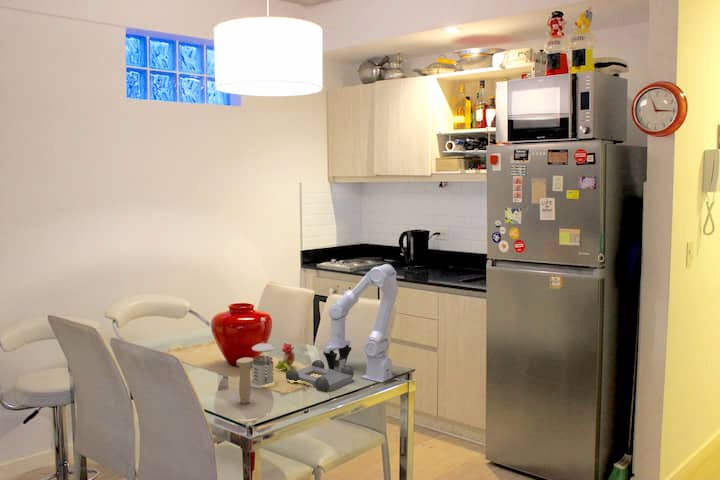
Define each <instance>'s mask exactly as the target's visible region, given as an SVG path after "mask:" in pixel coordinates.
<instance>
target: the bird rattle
mask: <svg viewBox="0 0 720 480" xmlns="http://www.w3.org/2000/svg"><path fill="white" fill-rule="evenodd" d="M294 348H295V347H294V346H292V343H285V342H283V347H282V348H281V351H282V352H283V353H284V355H283V358H282V360H281V359H279V360H278V361H277V364H276V365H275V368H276V370H279V369H283V370H284V369H285V370H286V369H287V370H286V371H288V370H291V369H292V366H293V364H294V362H295V357H296V355H295V352H294V351H293V350H294ZM290 367H291V368H290Z"/></svg>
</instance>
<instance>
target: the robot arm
mask: <svg viewBox="0 0 720 480" xmlns="http://www.w3.org/2000/svg"><path fill="white" fill-rule="evenodd" d="M396 277H397V271H396V270H395V267H393V266H392V265H391V264H390V263H384V264H382V265H379V266H374V267H372V268H371V269H370V270H369V271H368V272H366V273H365V275H364V276H363V277H362V278H361V280H360V281H359V282H358V283H357V284H356V286H354V288H353V289H352V290H351V289H349V290H345V291H343V293H342V296H341V297H340V298H339V299H337V300H336V301H335V303H333V304H331V305H330V307H329V308H328V316H329V318H330V342H328V345H327V346H326V347H324V351H323V355H324V357H325V359H326V363H327V367H328V370H329V369H332V370H334V367H335V359H336V356H337V357H338V353H339V357H341V358H345V365H346V364H347V360H348V358H349V354H350V352H351V351H352V347H351V340H346V320H347V319H346V318H347V316H348V314H349V312H350V310H351V309H352V308H353V307H354V306H355V305H356V304H357V303H358V302H359V299H360V298H359V296H360V295H362V293H363V292H364V291H366V290H367V289H368V288H369V287H370V286H371V285H372V284H374V285H376V286H377V287H378V288H379V289H380V290H381V292H382V296H381V299H380V303H379V307H378V311H377V313H376V314H377V315H376V318H375V322H374V326H373V329H372V331H371V333H370V334H369V336H368V339H367V340H366V341H365V343H364V345H363V350H364V353H365V355H366V365H365V367H366V370H365V372H366V373H365V374H364V375H362V376H361V378H362V379H365V380H369V381H374V382H378V383H384V382H386V381H389V380H390V379H392V378H393V377H394V376H393V375H392V374H393V372H392V371H393V361H392V359H391V358H390V357H388V356H387V355H386V351H387V350H388V348H389V346H390V345H389V334H388V329H389V326H390V322H391V318H392V314H393V312H394V308H395V304H396V300H397V297H398V292H399V287H398V282H397V278H396ZM337 350H338V353H336V352H334V351H337Z"/></svg>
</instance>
